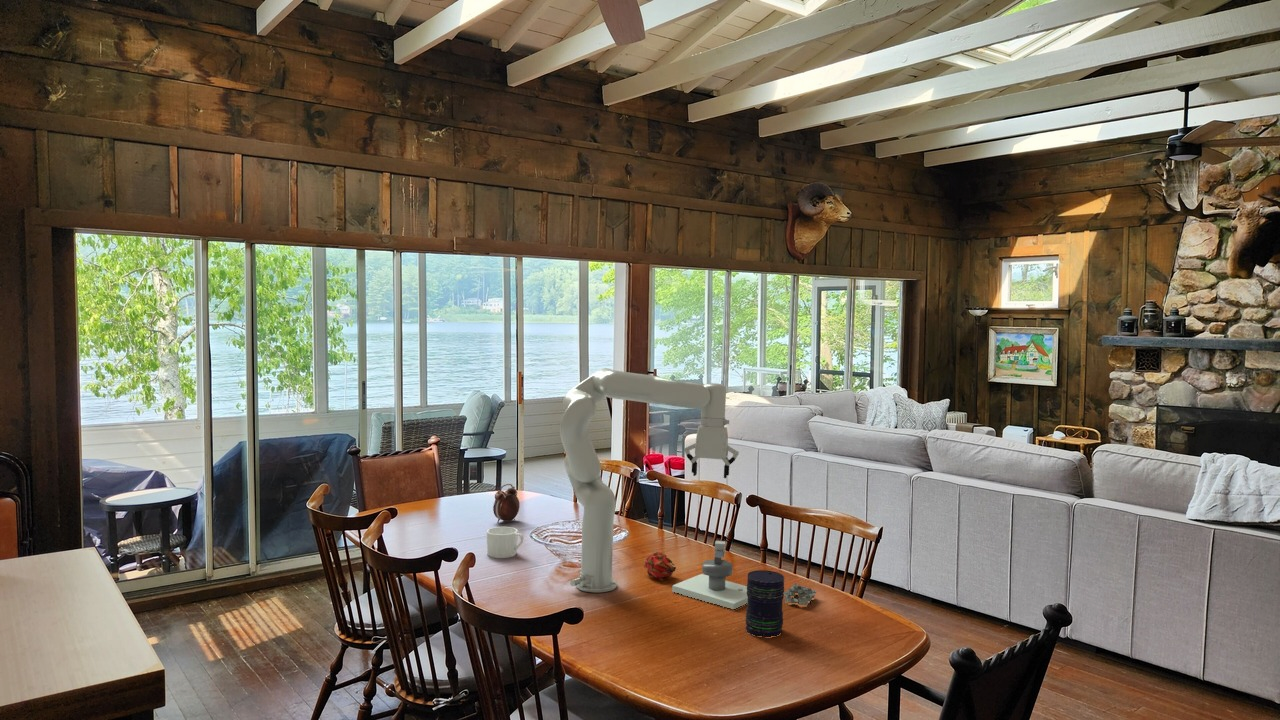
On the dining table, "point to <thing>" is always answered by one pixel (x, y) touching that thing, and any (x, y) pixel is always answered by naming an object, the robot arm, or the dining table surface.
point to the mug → (503, 542)
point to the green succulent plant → (799, 594)
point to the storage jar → (764, 603)
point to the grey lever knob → (718, 563)
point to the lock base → (713, 590)
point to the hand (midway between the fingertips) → (710, 476)
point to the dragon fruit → (659, 566)
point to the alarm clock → (506, 504)
